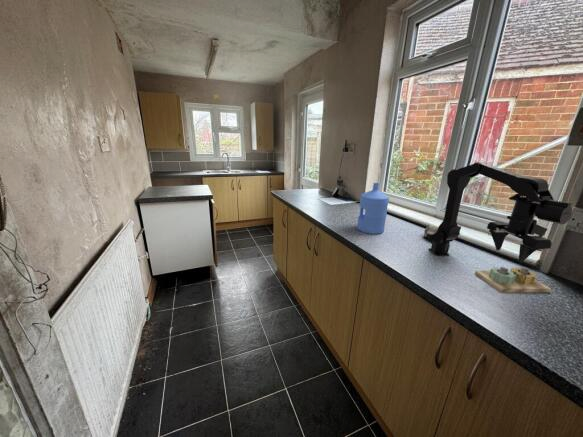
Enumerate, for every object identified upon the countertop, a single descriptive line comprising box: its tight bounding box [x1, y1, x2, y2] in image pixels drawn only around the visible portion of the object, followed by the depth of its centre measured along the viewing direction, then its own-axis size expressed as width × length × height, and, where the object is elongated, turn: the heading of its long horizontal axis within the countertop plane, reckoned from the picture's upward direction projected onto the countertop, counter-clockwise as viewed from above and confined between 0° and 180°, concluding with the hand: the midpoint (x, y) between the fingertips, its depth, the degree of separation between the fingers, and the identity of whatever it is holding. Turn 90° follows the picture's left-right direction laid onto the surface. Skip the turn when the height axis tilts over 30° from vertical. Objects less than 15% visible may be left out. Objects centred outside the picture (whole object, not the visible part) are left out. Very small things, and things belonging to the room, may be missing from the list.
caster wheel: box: [423, 222, 438, 243], centre depth 127 cm, size 7×11×10 cm
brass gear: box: [510, 267, 538, 284], centre depth 88 cm, size 7×7×3 cm
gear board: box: [474, 266, 552, 293], centre depth 88 cm, size 18×12×6 cm, turn 91°
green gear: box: [489, 266, 516, 284], centre depth 88 cm, size 7×7×3 cm
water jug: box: [356, 182, 390, 235], centre depth 136 cm, size 16×16×28 cm
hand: (508, 255), depth 85 cm, fingers open, 9 cm apart
